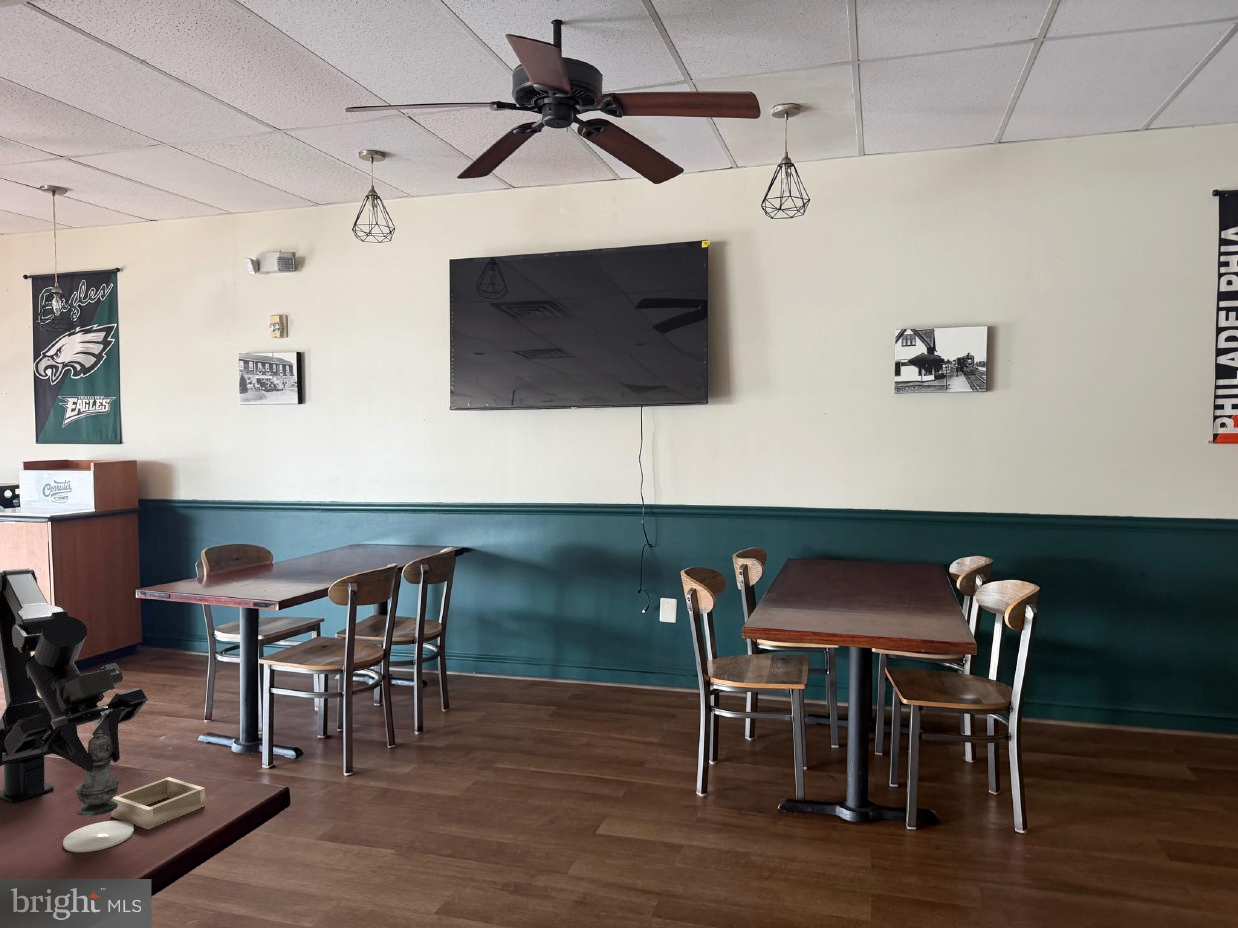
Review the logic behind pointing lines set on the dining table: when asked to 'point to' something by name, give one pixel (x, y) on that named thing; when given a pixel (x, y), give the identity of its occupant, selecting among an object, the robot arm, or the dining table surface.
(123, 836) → the coaster
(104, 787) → the grey tall domed piece
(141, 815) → the birch holder
